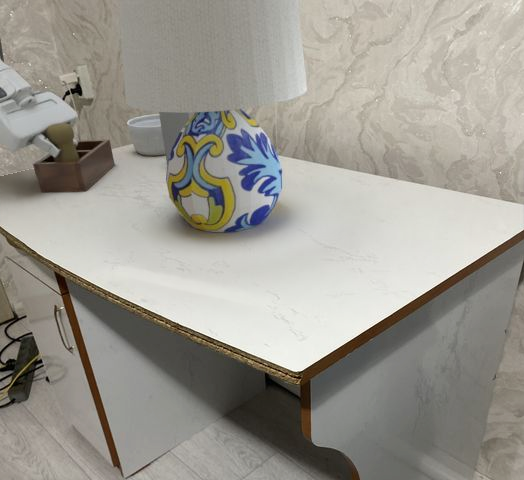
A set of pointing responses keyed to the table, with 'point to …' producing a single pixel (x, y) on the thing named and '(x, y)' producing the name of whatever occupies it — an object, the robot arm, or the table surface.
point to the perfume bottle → (172, 128)
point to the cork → (63, 141)
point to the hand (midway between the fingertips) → (67, 150)
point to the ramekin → (147, 135)
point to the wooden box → (75, 168)
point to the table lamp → (215, 97)
